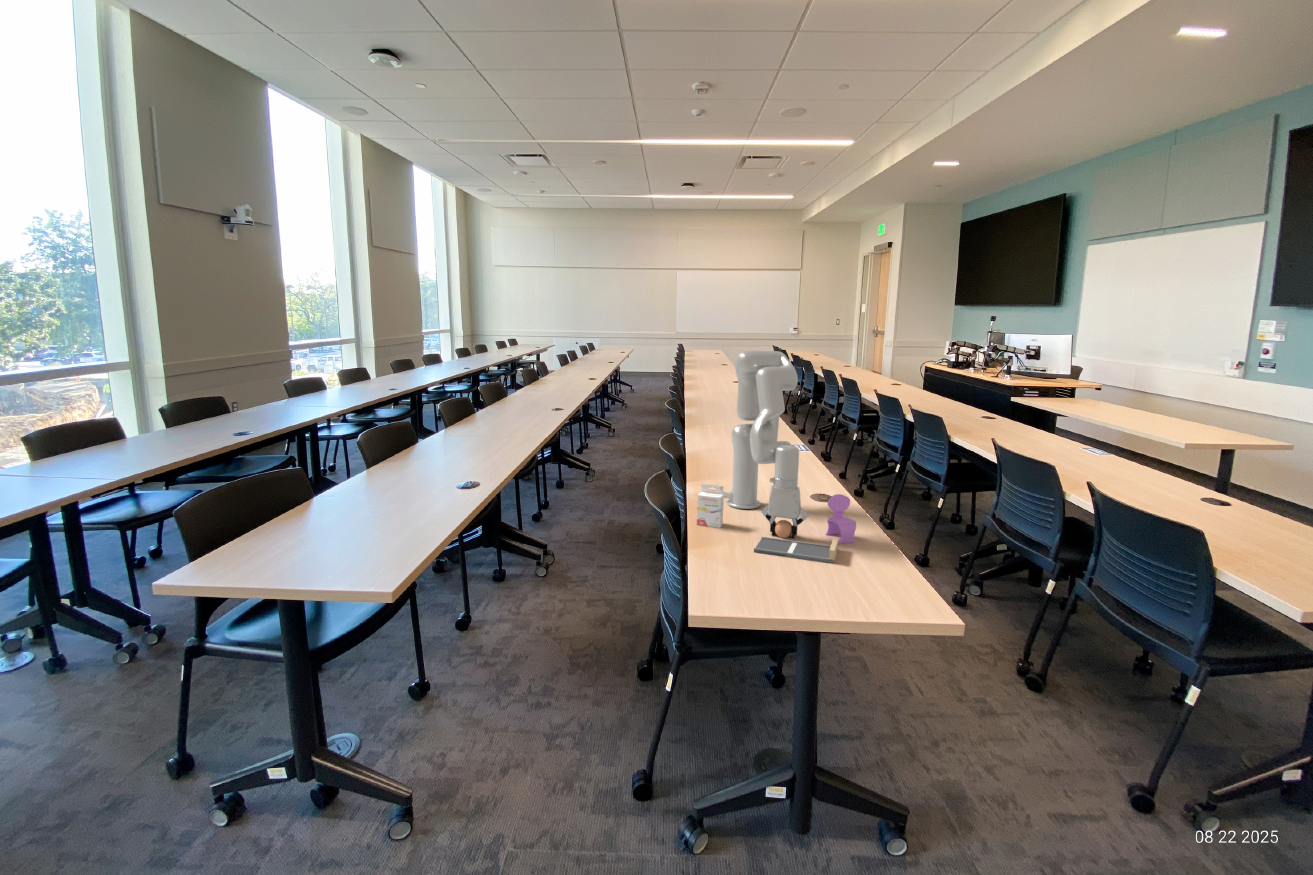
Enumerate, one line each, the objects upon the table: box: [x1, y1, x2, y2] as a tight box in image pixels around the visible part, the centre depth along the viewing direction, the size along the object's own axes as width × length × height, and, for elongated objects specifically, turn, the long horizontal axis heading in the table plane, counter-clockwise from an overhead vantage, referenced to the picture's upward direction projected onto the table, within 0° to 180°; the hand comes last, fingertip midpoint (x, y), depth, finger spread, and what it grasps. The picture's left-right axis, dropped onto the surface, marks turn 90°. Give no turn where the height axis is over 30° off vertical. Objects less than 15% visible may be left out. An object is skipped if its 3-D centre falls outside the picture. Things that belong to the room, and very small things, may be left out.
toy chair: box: [825, 493, 857, 545], centre depth 196 cm, size 8×9×15 cm
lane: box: [753, 536, 839, 565], centre depth 187 cm, size 24×12×4 cm, turn 68°
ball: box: [775, 519, 793, 539], centre depth 199 cm, size 6×6×6 cm
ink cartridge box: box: [696, 483, 725, 529], centre depth 209 cm, size 9×5×15 cm, turn 71°
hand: (783, 534), depth 199 cm, fingers closed on ball, 5 cm apart
